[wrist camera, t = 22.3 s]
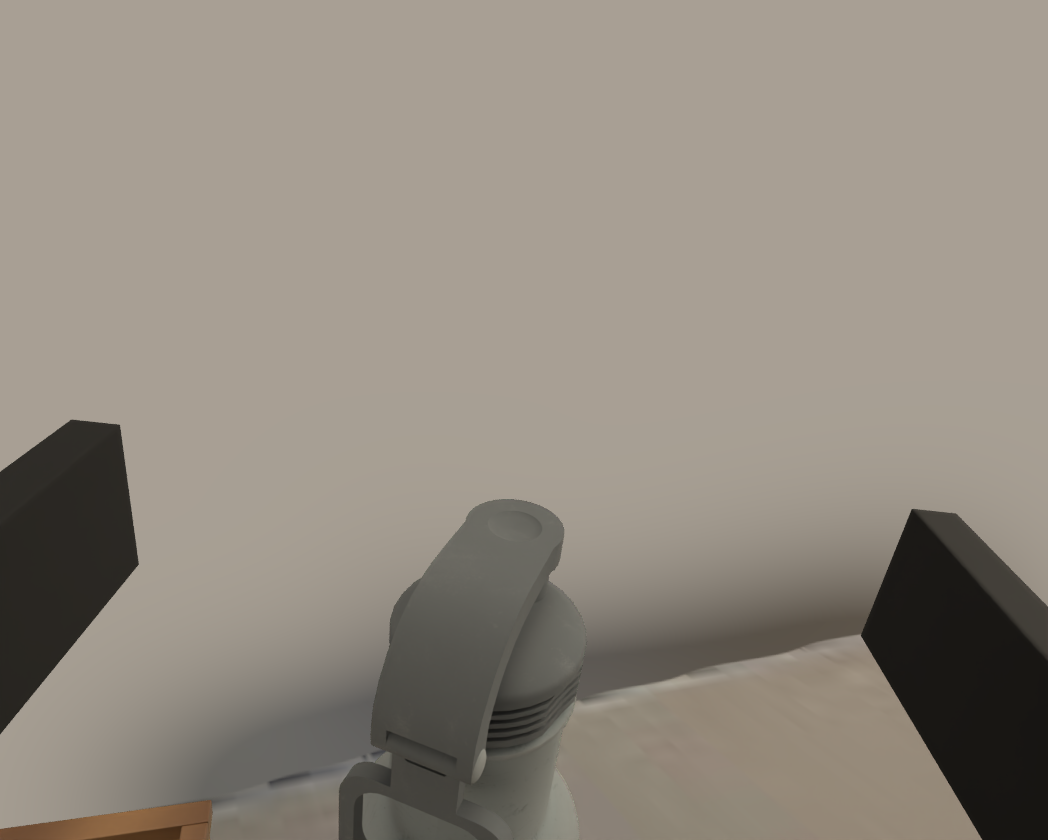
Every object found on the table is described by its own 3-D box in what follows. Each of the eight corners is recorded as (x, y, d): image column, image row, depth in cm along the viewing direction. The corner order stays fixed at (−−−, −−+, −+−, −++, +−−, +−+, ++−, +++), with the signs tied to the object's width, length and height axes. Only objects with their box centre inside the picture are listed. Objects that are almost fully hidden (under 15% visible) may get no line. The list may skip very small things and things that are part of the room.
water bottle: (493, 1197, 30) (600, 711, 19) (294, 1086, 33) (277, 596, 21) (562, 953, 39) (664, 519, 27) (401, 880, 42) (431, 454, 30)
